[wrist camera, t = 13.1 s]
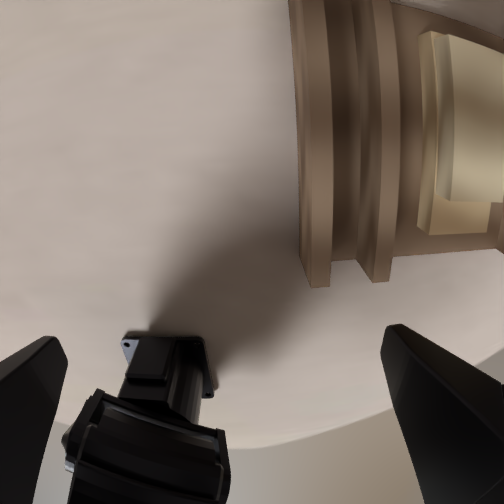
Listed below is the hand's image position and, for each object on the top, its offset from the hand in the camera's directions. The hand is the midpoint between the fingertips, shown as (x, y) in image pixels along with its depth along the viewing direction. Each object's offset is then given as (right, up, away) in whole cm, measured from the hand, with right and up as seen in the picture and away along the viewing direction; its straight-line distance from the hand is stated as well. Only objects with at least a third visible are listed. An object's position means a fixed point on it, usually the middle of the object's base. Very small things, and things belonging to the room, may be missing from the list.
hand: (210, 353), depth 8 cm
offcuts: (+14, +10, +8) cm, 18 cm away
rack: (+14, +10, +9) cm, 19 cm away
